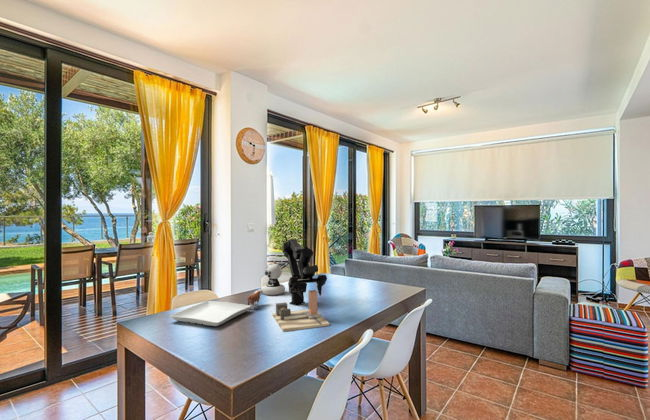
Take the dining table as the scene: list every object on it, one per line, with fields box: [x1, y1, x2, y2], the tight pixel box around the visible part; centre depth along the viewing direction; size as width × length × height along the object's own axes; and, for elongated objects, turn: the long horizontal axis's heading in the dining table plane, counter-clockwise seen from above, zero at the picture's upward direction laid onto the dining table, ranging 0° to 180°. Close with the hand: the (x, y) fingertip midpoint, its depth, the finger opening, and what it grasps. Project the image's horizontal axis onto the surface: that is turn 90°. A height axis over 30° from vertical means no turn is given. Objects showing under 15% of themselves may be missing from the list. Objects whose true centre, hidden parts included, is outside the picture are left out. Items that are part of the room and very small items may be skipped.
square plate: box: [169, 300, 252, 327], centre depth 160 cm, size 27×27×4 cm
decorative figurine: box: [260, 261, 286, 296], centre depth 205 cm, size 15×15×20 cm
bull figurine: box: [247, 288, 265, 310], centre depth 177 cm, size 4×13×8 cm, turn 161°
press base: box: [272, 302, 331, 333], centre depth 154 cm, size 23×21×6 cm
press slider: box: [280, 289, 322, 320], centre depth 154 cm, size 6×18×12 cm, turn 110°
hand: (311, 296), depth 158 cm, fingers open, 9 cm apart
